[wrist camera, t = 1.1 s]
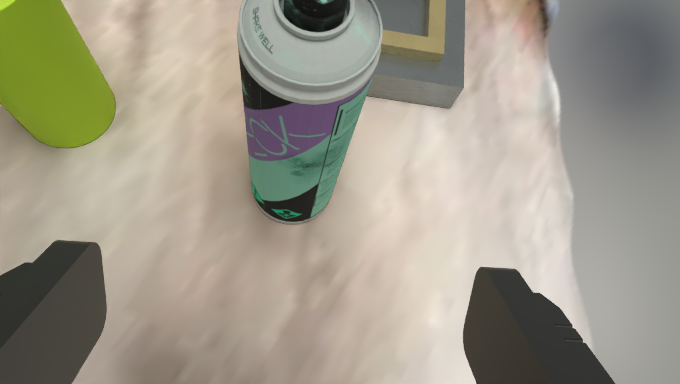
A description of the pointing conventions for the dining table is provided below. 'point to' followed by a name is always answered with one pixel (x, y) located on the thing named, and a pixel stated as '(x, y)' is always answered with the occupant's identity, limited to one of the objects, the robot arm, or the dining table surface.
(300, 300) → the dining table surface
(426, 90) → the grey and tan frame
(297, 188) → the spray can
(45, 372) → the robot arm
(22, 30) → the soap dispenser
